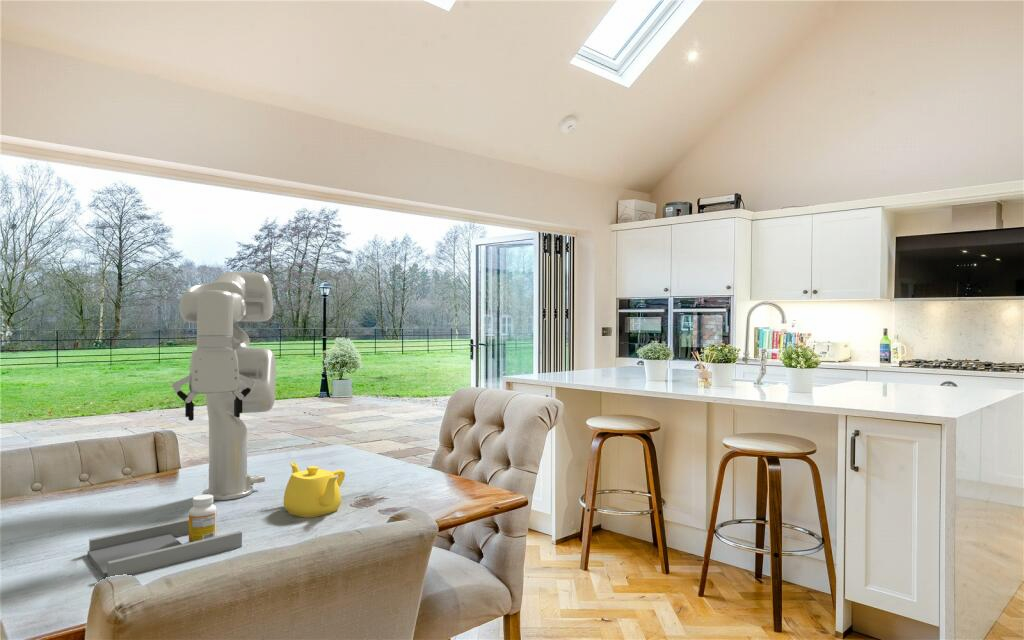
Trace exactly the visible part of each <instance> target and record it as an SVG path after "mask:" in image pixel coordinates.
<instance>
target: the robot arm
mask: <svg viewBox="0 0 1024 640" xmlns="http://www.w3.org/2000/svg"><path fill="white" fill-rule="evenodd" d="M272 290H273V289H272V284H271V281H270V279H269V278H268V277H267V274H266V275H265V274H264V273H262V272H248V271H247V272H245V271H244V272H243V271H228V272H224V273H222V274H220V275H219V276H218V277H217V278H216V280H215V281H210V282H207V283H201V284H197V285H192V286H190V287H188V288H187V289H185V291H184V292H183V294H182V296H181V298H180V301H179V313H180V316H181V318H182V319H183V320H184V321H185V322H187V323H191V324H192V323H194V324H196V349H193V350H192V353H191V358H190V364H189V374H188V375H187V376H184V377H182V378H181V379H179V380H176V381H174V382H172V383H171V387H172V389H173V391H174V392H175V394H176V395H177V396H178V397H179V398H180V399H181V400H183V402H185V406H184V407H185V416H184V417H185V418H188V420H189V421H190V422H191V421H194V418H195V417H194V415H195V414H194V411H195V410H194V409H195V408H194V407H195V406H194V405H195V403H194V402H193V400H194V399H195V398H196V397H197V396H198V394H199V395H200V394H201V395H202V394H203V395H205V404H206V409H207V415H208V488H205V489H204V490H203V491H202V493H201V495H205V494H209V495H213V500H214V501H228V500H235V499H239V498H243V497H246V496H249V495H251V494H252V493H253V491H254V487H253V485H254V484H259V483H261V484H262V483H265V480H266V478H265V477H266V476H265V475H264V474H262V475H261V474H260V475H256V474H255V475H249V474H248V429H247V425H246V424H245V422H244V421H243V420H242V418H240V417H241V415H240V414H247V413H248V414H249V413H250V414H251V413H254V414H255V413H266V412H269V411H271V409H273V407H274V405H275V400H276V372H277V363H276V356H275V354H274V352H273V351H272V350H271V349H269V348H266V347H265V348H264V347H250V344H251V343H250V342H251V341H250V337H249V335H248V334H247V333H246V331H245V330H244V329H243V328H242V327H240V326H239V325H238V324H237V323H238V322H260V323H261V322H267V321H269V320H271V318H272V316H273V314H274V298H273V291H272ZM187 383H188V389H189V392H188V393H187V394H186V393H184V392H183V390H182V388H181V387H182V386H183V385H185V384H187Z"/></svg>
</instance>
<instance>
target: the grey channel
mask: <svg viewBox="0 0 1024 640" xmlns="http://www.w3.org/2000/svg"><path fill="white" fill-rule="evenodd" d="M184 535H189V518H186V519H181V520H176V521H171V522H166V523H162V524H158V525H152V526H147V527H142V528H141V527H140V528H138V529H132V530H127V531H122V532H118V533H113V534H109V535H104V536H98V537H94V538H89V541H88V544H89V546H88V547H89V548H88V551H87V557H88V559H89V560H90V562H91V563H92V564H93V566H94V567H95V569H96V570H97V571H98V572H99V574H100V575H101V577H102V578H103V579H104V578H105V579H107V578H106V577H110V576H115V575H123V574H129V575H130V576H131V575H133V574H138V573H143V572H146V571H150V570H153V569H158V568H161V567H165V566H169V565H174V564H177V563H181V562H185V561H189V560H194V559H197V558H201V557H205V556H210V555H213V554H217V553H221V552H225V551H229V550H233V549H236V548H242V547H243V532H242V531H241V530H239V531H234V532H229V533H225V534H221V535H217V536H216V537H212V538H207V539H203V540H199V541H194V542H190V543H189V542H186V543H182V542H181V541H179V540H178V538H176V537H179V536H184ZM129 575H128V576H129Z"/></svg>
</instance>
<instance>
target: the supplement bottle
mask: <svg viewBox="0 0 1024 640" xmlns="http://www.w3.org/2000/svg"><path fill="white" fill-rule="evenodd" d="M214 501H215V500H213V495H209V494H205V495H202V494H199V495H195V496H194V497H192V507H191V508H190V509H189V510H188V519H189V534H188V543H190V542H194V541H199V540H203V539H207V538H212V537H216V536H218V531H217V530H218V529H217V528H218V527H217V526H218V524H217V523H218V522H217V521H218V519H217V518H218V517H217V516H218V513H217V512H218V510H217V506H216V505H215V504H213V503H214Z"/></svg>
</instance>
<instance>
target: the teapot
mask: <svg viewBox="0 0 1024 640" xmlns="http://www.w3.org/2000/svg"><path fill="white" fill-rule="evenodd" d="M290 466H291V469H292V471H291V472H292V474H291V475H290V477H289V479H288V482H287V484H286V487H285V490H284V495H283V506H284V508H285V510H286V511H287V513H289V514H290V515H292V516H296V517H298V518H299V517H300V518H316V517H319V516H324V515H328V514H331V513H333V512H337V510H339V508H340V506H341V505H342V503H341V502H342V496H341V489H340V487H341V485H342V484H343V482H344V480H345V477H346V471H345V470H343V469H335V470H333V471H329V470H325V469H323V468H319V466H316V465H311V466H307V467H306V470H300V469H299V466H298V464H297V463H296V462H293V461H291V462H290ZM336 475H337V476H336Z"/></svg>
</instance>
